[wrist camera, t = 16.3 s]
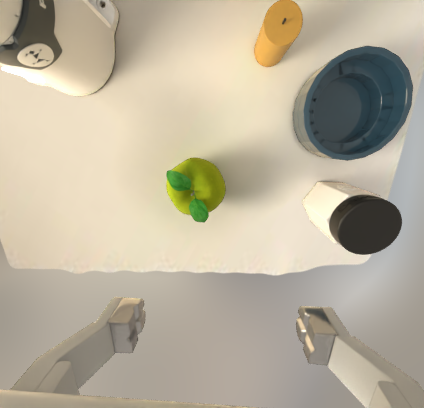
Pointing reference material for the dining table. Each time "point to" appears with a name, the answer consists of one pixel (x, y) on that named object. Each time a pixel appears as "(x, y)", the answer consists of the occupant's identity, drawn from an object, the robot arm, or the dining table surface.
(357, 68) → the bowl
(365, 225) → the jar
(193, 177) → the fruit
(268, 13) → the candle
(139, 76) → the dining table surface
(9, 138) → the dining table surface
